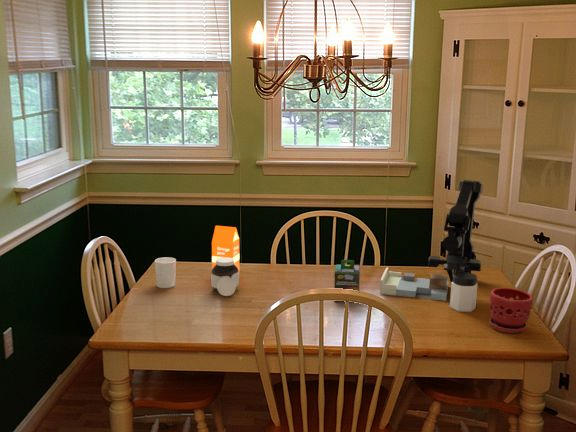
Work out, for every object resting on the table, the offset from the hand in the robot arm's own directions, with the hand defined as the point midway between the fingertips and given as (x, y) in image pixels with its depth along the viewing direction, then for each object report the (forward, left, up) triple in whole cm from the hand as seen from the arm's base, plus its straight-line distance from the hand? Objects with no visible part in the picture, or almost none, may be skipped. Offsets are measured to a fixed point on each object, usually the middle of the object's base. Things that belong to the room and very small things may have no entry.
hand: (452, 285), depth 251 cm
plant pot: (-19, +27, -4) cm, 33 cm away
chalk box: (+37, +16, -4) cm, 40 cm away
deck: (+14, 0, -4) cm, 14 cm away
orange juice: (+88, +5, -4) cm, 88 cm away
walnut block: (+5, 0, -1) cm, 5 cm away
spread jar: (+81, +23, -4) cm, 84 cm away
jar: (-4, +13, -4) cm, 14 cm away
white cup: (+105, +24, -4) cm, 108 cm away
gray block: (+17, -6, -3) cm, 18 cm away
